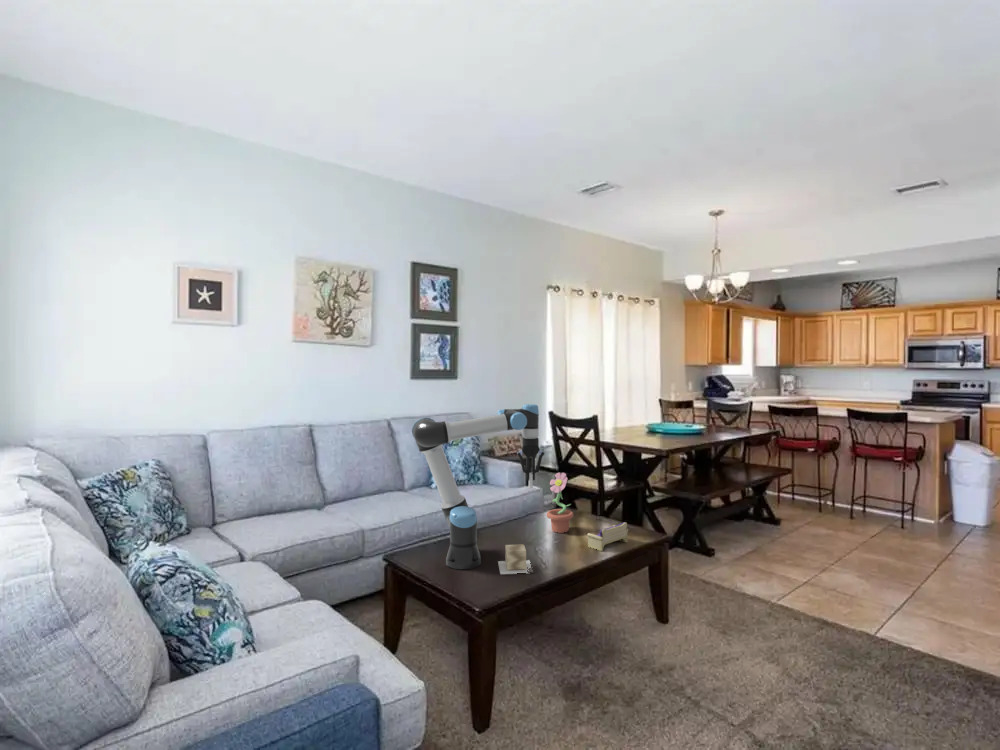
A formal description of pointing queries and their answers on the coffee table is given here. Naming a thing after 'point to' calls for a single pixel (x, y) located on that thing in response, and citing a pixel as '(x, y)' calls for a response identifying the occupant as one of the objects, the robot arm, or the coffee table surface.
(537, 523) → the coffee table surface
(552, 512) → the decorative flower
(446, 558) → the robot arm
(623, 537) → the toy sofa
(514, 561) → the maple cube
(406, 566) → the coffee table surface
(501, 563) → the grey mat
